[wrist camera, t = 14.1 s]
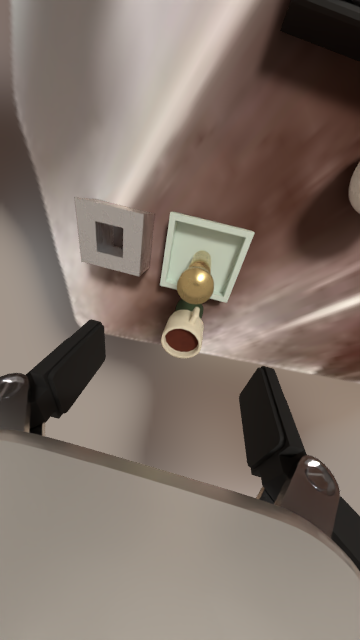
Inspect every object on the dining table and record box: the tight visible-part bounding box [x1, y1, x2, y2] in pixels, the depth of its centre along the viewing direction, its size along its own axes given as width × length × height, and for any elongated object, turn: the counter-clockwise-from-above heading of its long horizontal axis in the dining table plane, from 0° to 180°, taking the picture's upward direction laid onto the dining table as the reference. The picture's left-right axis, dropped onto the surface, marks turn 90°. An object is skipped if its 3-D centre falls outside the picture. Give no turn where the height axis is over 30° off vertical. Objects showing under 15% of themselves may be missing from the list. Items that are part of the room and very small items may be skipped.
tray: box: [160, 212, 255, 303], centre depth 33 cm, size 13×14×3 cm
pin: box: [177, 251, 214, 304], centre depth 28 cm, size 5×5×14 cm
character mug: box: [161, 299, 204, 358], centre depth 35 cm, size 11×7×13 cm, turn 154°
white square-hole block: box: [74, 197, 155, 276], centre depth 32 cm, size 10×11×6 cm
